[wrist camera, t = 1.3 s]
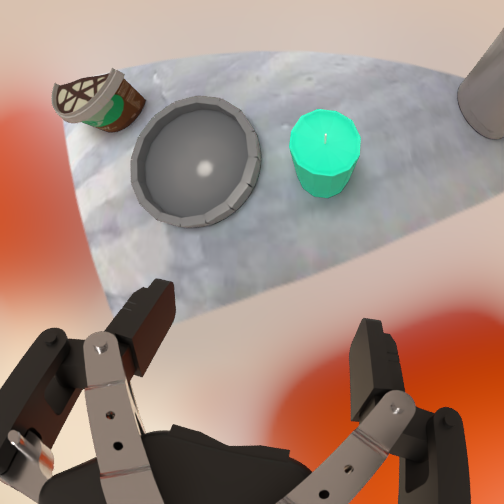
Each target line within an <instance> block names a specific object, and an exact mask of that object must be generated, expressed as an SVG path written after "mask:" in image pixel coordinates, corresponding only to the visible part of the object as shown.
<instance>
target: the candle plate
mask: <svg viewBox="0 0 504 504" xmlns="http://www.w3.org/2000/svg"><path fill="white" fill-rule="evenodd" d="M154 117H155V118H154ZM154 117H153V118H152V119H151V120H150V121H149V123H148V124H147V125H146V127H145V128H144V129H143V131H142V132H141V133H140V135H139V136H140V137H138V139H137V142H136V145H135V148H134V151H133V154H132V157H131V159H132V160H131V183H132V184H131V185H132V187H133V189H134V192H135V194H136V197H137V199H138V201H139V204H141V206H142V207H143V208H144V209H145V210H146V211H147V212H149V213H150V214H151V215H152V216H153V217H154V218H155V219H156V220H158V221H161V222H165V223H168V224H172V225H175V226H178V227H184V228H192V227H204V226H208V225H212V224H215V223H218V222H220V221H222V220H224V219H226V218H227V217H229V216H230V215H232V214H233V213H234V212H235V211H236V210H238V209H239V208H240V207H241V206H242V205H243V203H244V202H245V201H246V200H247V198H248V197H249V196H250V194H251V193H252V191H253V189H254V187H255V185H256V182H257V179H258V176H259V172H260V166H261V151H260V146H259V142H258V137H257V135H256V133H255V131H254V129H253V128H252V126H251V125H250V123H249V121H248V120H247V118H246V117H245V115H244V114H243V112H242V111H241V110H240V109H238V108H237V107H235V106H234V105H232V104H230V103H229V102H227V101H225V100H223V99H221V98H216V97H207V96H198V97H197V96H194V97H190V98H186V99H183V100H179V101H176V102H175V103H172V104H170V105H169V106H167V107H166V108H164V109H163V110H162V111H160V112H159V113H157V114H156V115H155V116H154Z"/></svg>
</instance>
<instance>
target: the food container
mask: <svg viewBox="0 0 504 504" xmlns="http://www.w3.org/2000/svg"><path fill="white" fill-rule="evenodd" d="M124 75H125V74H123V73H121V72H120V71H118V70H115V69H113V68H112V70H111V72H110V73H109V74H105V75H100V76H94V77H87V78H82V79H79V80H76V81H74V82H72V83H68V84H64V85H61V86H60V85H58V84H56V83H55V84H54V87H53V91H52V105H53V108H54V109H55V111H56V113H57V114H58V115H59V116H60V117H61V118H62V119H63V120H65V121H66V122H69V123H79V122H82V123H85V124H88V125H91V126H93V127H96V128H99V129H101V130H104V131H107V132H118V131H121V130H123V129H125V128H126V127H127V126H129V125H130V124H131V123H132V122H133V121H134V120H135V119H136V118H137V117H138V115H139V114H140V112H141V111H142V109H143V107H144V104H145V101H146V100H145V99H144V98H143V97H142V96H141V95H140V94H139V93H138V92H137V91H136V90H135V89H134V88H133V87H132V86H131V85H130V84H129V83H128V82H127V81H126V80H125V79H124Z"/></svg>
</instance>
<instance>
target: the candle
mask: <svg viewBox="0 0 504 504" xmlns="http://www.w3.org/2000/svg"><path fill="white" fill-rule="evenodd" d="M360 140H361V137H360V135H359V133H358V131H357V129H356V127H355V125H354V123H353V121H352V120H351V119H349V118H347V117H346V116H344V115H342V114H340V113H339V112H337V111H331V110H323V109H317V110H314V111H312V112H310V113H307V114H305V115H303V116H301V117H300V119H299V120H298V122H297V123H296V125H295V126H294V128H293V129H292V131H291V136H290V144H289V148H290V152H291V155H292V159H293V162H294V166H295V170H296V173H297V177H298V179H299V181H300V183H301V185H302V187H303V189H304V190H306V191H307V192H309V193H310V194H311V195H313V196H314V197H323V198H329V197H332V196H334V195H336V194H339V193H340V192H341V191H342V190H343V188H344V187H345V185H346V184H347V183H348V181H349V179H350V176H351V174H352V172H353V170H354V167H355V165H356V163H357V160H358V158H359V156H360Z"/></svg>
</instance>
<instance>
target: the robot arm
mask: <svg viewBox="0 0 504 504" xmlns="http://www.w3.org/2000/svg"><path fill="white" fill-rule="evenodd" d="M458 103H459V106H460V109H461V111H462V113H463V115H464V117H465V118H466V120H467V121H468V123H469V124H470V125H471V126H472V127H473V128H474V129H475V130H476V131H477V132H479V133H480V134H481V135H483V136H485V137H487V138H490V139H501V138H502V137H504V28H503V30H502V31H501V32H500V34H499V35H498V37H497V38H496V39H495V41H494V42H493V43H492V45H491V46H490V47H489V49H488V50H487V51H486V53H485V54H484V55H483V57H482V58H481V59H480V61H479V62H478V63H477V65H476V66H475V67H474V68H473V70H472V71H471V72H470V73H469V75H468V76H467V77H466V78H465V80H464V81H463V82H462V84H461V85H460V87H459V89H458ZM175 313H176V306H175V292H174V284H173V282H171V281H166V280H162V279H157V278H156V279H155V280H154V281H153V282H152V283H151V285H150V286H149V287H148V288H145V287H142V288H141V289H139V290H138V291H136V292H134V293H133V294H132V296H131V297H130V298H129V299H128V301H127V302H126V303H125V305H124V306H123V308H122V309H121V310H120V311H119V312H118V314H117V315H116V316H115V318H114V319H113V320H112V322H111V323H110V324H109V326H108V327H107V328H106V330H105V331H103V332H102V331H101V332H96V333H93V334H91V335H90V336H89V337H88V338H87V339H86V340H79V339H68V338H67V336H66V334H65V332H64V331H63V330H62V329H59V328H50V329H47V330H45V331H43V332H42V333H41V334H40V335H39V336H38V338H37V339H36V340H35V342H34V343H33V344H32V345H31V347H30V348H29V349H28V351H27V352H26V354H25V355H24V356H23V358H22V359H21V360H20V362H19V363H18V365H17V366H16V367H15V369H14V370H13V372H12V373H11V374H10V376H9V377H8V379H7V380H6V382H5V383H4V385H3V386H2V388H1V389H0V481H2V482H3V483H4V484H6V485H9V486H11V487H12V488H14V489H16V490H17V491H20V492H21V493H23V494H24V495H26V496H27V497H29V498H30V499H32V500H33V501H35V502H37V503H38V504H348V503H349V502H350V501H351V500H352V499H353V498H354V497H355V496H356V495H357V493H358V492H359V491H360V490H361V489H362V488H363V487H364V485H365V484H366V483H367V482H368V481H369V480H370V478H371V477H372V476H373V474H375V472H376V471H377V470H378V468H379V467H380V466H381V465H382V463H383V462H384V461H385V459H386V458H387V456H388V455H389V453H390V454H393V455H396V456H399V458H400V459H399V460H400V462H399V463H400V465H399V495H398V504H471V495H470V478H469V467H468V457H467V449H466V442H465V435H464V428H463V422H462V418H461V417H460V415H459V413H458V412H457V411H455V410H454V409H452V408H449V407H443V408H440V409H439V410H437V411H436V412H435V413H432V412H429V411H426V410H423V409H420V408H418V407H416V406H415V402H414V400H413V399H412V397H411V396H410V395H408V394H407V393H405V388H404V382H403V377H402V371H401V366H400V363H399V356H398V351H397V346H396V343H395V341H394V340H393V338H392V337H391V335H390V334H386V333H383V328H382V323H381V321H380V320H374V319H366V318H363V319H362V321H361V323H360V325H359V328H358V330H357V332H356V335H355V337H354V339H353V341H352V344H351V347H350V353H349V365H350V389H351V390H350V393H351V421H356V422H359V426H358V427H357V429H355V430H354V431H353V432H352V433H351V434H350V435H349V436H348V437H347V439H346V440H345V441H344V442H343V443H342V444H341V445H340V446H339V447H338V448H337V449H336V450H335V451H334V452H333V453H332V454H331V455H330V456H329V457H328V458H327V459H326V460H325V461H324V462H323V463H322V464H321V465H320V466H319V467H318V468H317V469H316V470H315V471H314V472H312V471H311V470H310V469H309V468H307V467H306V466H305V465H303V464H302V463H300V462H299V461H297V460H294V459H292V458H290V457H289V452H290V450H286V449H279V448H273V447H267V446H261V445H259V446H228V445H225V444H223V443H221V442H219V441H217V440H215V439H213V438H211V437H209V436H207V435H205V434H203V433H201V432H199V431H195V430H191V429H188V428H185V427H181V426H178V425H174V424H173V425H172V427H171V430H170V431H153V432H150V433H146V431H145V429H144V426H143V423H142V421H141V418H140V414H139V411H138V407H137V404H136V400H135V397H134V393H133V389H132V386H131V382H130V380H131V378H132V377H133V375H137V376H140V377H143V375H144V374H145V372H146V370H147V368H148V366H149V365H150V363H151V361H152V359H153V357H154V355H155V354H156V352H157V350H158V348H159V346H160V345H161V343H162V341H163V339H164V337H165V336H166V334H167V332H168V330H169V329H170V327H171V325H172V323H173V321H174V318H175ZM83 389H85V398H86V405H87V412H88V417H89V423H90V428H91V433H92V438H93V443H94V448H95V452H96V456H97V457H95V458H93V459H91V460H89V461H86V462H84V463H82V464H80V465H77V466H75V467H73V468H71V469H68V470H65V471H63V472H61V473H58V474H56V475H54V476H52V471H53V469H54V456H53V453H52V452H51V448H52V446H53V444H54V442H55V440H56V438H57V436H58V434H59V433H60V430H61V429H62V427H63V425H64V423H65V421H66V419H67V417H68V415H69V413H70V412H71V410H72V408H73V406H74V404H75V402H76V400H77V398H78V397H79V395H80V393H81V391H82V390H83Z"/></svg>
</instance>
